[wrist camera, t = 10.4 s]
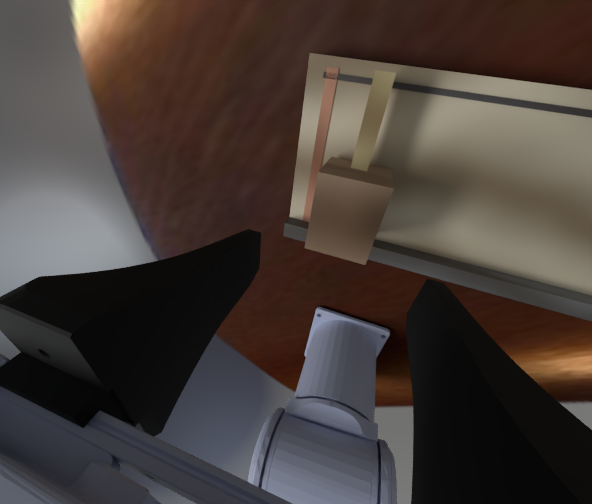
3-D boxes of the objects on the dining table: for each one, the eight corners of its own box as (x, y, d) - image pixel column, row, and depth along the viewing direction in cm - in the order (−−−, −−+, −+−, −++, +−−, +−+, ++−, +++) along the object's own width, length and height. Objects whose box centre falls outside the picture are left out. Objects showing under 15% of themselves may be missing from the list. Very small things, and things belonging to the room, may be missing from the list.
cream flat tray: (664, 322, 17) (705, 355, 15) (293, 223, 22) (283, 237, 20) (953, 141, 10) (1108, 153, 8) (315, 56, 15) (304, 49, 13)
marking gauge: (368, 235, 18) (365, 265, 15) (318, 222, 19) (304, 248, 16) (423, 79, 13) (437, 74, 9) (349, 69, 13) (337, 60, 10)
